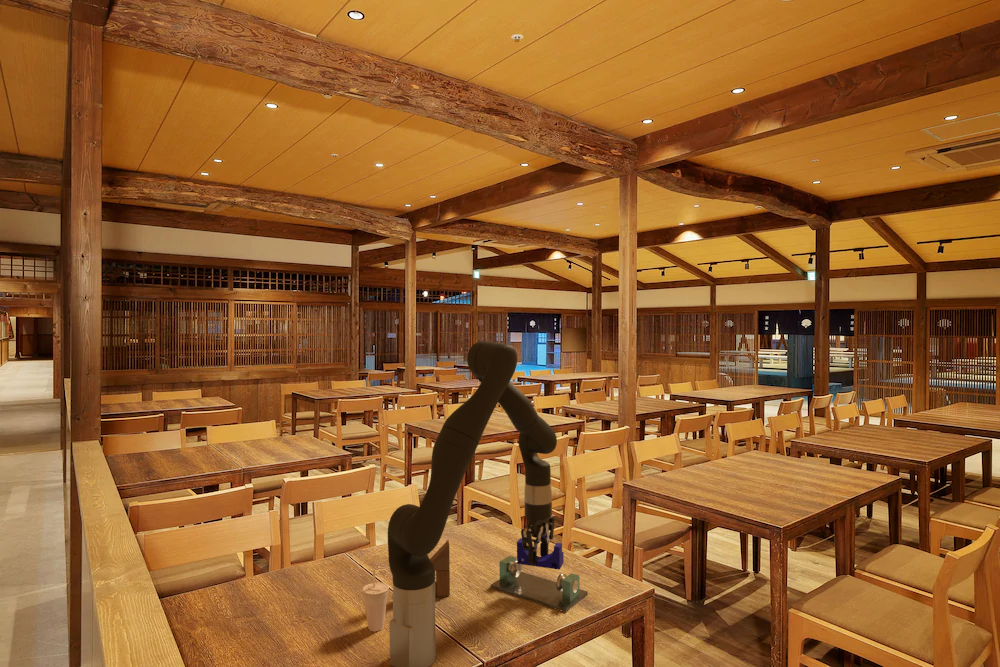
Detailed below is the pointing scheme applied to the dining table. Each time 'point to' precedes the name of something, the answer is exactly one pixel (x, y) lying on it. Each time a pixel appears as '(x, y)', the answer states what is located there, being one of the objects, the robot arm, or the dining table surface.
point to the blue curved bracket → (545, 561)
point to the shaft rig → (539, 586)
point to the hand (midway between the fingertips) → (538, 560)
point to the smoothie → (375, 604)
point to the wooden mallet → (442, 570)
